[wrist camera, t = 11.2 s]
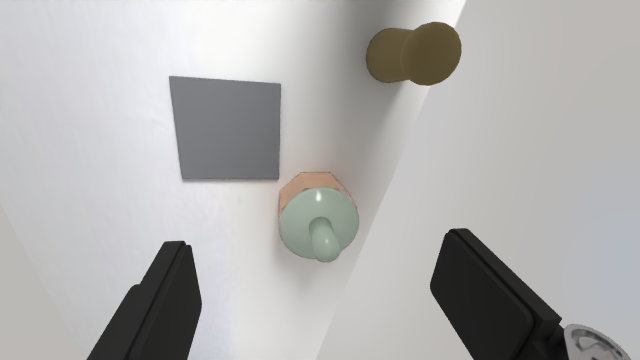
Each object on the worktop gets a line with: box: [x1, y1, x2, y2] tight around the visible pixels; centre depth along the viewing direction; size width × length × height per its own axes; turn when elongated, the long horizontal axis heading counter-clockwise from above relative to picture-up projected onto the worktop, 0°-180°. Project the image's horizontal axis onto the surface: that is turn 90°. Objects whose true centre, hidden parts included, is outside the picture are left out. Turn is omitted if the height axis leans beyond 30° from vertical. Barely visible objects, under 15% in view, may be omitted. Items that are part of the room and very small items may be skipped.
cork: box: [366, 22, 461, 86], centre depth 28 cm, size 6×6×11 cm
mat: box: [169, 76, 281, 179], centre depth 33 cm, size 12×12×1 cm
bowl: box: [279, 172, 357, 220], centre depth 37 cm, size 10×10×5 cm
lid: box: [279, 186, 359, 262], centre depth 32 cm, size 10×10×6 cm
